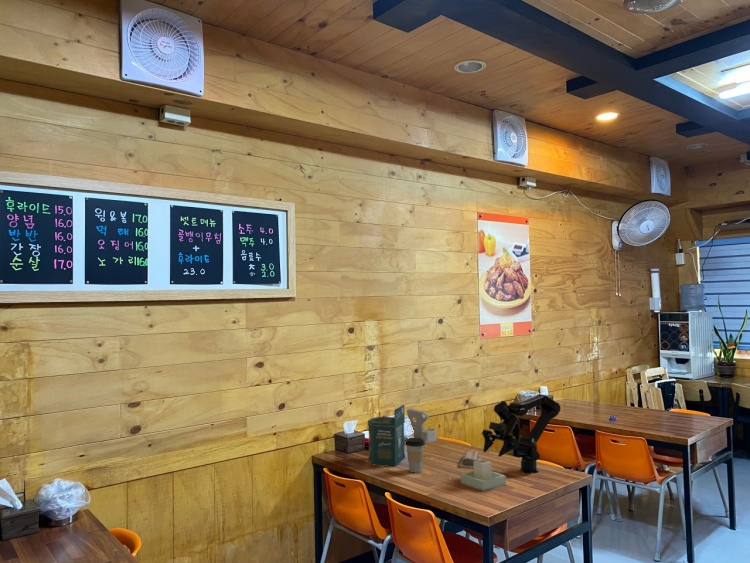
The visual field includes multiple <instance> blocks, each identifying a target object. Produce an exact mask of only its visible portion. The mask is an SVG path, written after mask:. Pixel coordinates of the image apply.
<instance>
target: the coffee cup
mask: <svg viewBox="0 0 750 563" xmlns="http://www.w3.org/2000/svg"><path fill="white" fill-rule="evenodd" d="M404 445H406V454H407V456H406V457H407V462H408V467H409V468H408V469H409V470H408V471H409V472H410V473H412V472H415V473H414V474H419V473H421V472H422V471H423V465H424V464H423V462H424V453H425V449H424V448H425V445H426V443H425V442H424V441H423V439H421V438H409V439H407V438H406V441H405V442H404ZM418 472H419V473H418Z"/></svg>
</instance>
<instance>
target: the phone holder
mask: <svg viewBox="0 0 750 563" xmlns="http://www.w3.org/2000/svg"><path fill="white" fill-rule="evenodd" d="M406 414H407V417H408V420H409V419H410V421H411V424H410V426H411V425H412V427H413V430H414V438H421V439H423V441H424V442H425V444H428V442H429V443H433V442H437V438H436V437H437V436H436V435H437V432H436V431H437V430H436V428H435V429H434V428H430V429H429V428H428V429H425V427H424V423H425V422H426V421H428V420H429V418H430V416H429V414H428V413H427V411H424V410H419V409H416V408H415V409H414V408H408V409H407V410H406ZM414 419H415V420H414ZM410 421H409V422H410Z"/></svg>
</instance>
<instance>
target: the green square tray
mask: <svg viewBox="0 0 750 563" xmlns="http://www.w3.org/2000/svg"><path fill="white" fill-rule="evenodd" d="M459 475H460V484H462V485H466V486H468V487H471V488H474V489H476V490H479V491H481V492H485V491H489V490H492V489H493V490H494V489H496V488H500V487H503V486H506V485H507V480H506V479H507V478H506V475H504V474H502V473H499V472H495V471H492V478H491V479H487V480H480V479H477V478H474V470H471V471H466V472H463V473H460V474H459Z"/></svg>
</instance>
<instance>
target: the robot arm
mask: <svg viewBox="0 0 750 563" xmlns="http://www.w3.org/2000/svg"><path fill="white" fill-rule="evenodd" d="M538 406H539V407H540V416H539V417H538V418H537V420H536V422H535V423H534V425H533V426H532V428H531V430H530V432H528V433H529V434H528V435H527V436H525V437H524V436H521V437H520V439H519V440H518V439H517V438H516V436H513V434H514V429H515V426H516V425H520V424H521V421H520V418H519V417H523V416H525V415H526V414H528V412H529V411H530V410H532V409H534V408H537V407H538ZM561 408H562V407H561V405H560V403H559V402H556V401H555V400H553V399H552V398H550V397H549V396H548V395H546V394H541V393H540V394H537V395H535V396H533V397H530V398H528V399H526V400H522V401H513V402H510V403H509V404H508V403H507V402H506V401H504V400H501V401H500V402H499V403H496V405H494V407H493V412H495V414H496V415H497V416H498V417H499V419H500V420H502V422H499V423H498V422H494V421H490V423H489V426H488V429H486V428H485V429H483V430H482V432H481V435H482V436H483V438H484V445H483V452H484V453H486V452H487V451H489V449H490V448H491V447H492V446H493V445H494V442H495V441H496V440H498V441H502V442H503V444H502V447H501V449H500V450H499V451H498V455H497V456H498V457H502V456H504V455H506V454H507V453H509V452H510V451H512V450H515V449H516V452H517V455H518V457H519V458H521V461H520V468H519V471H521V472H524V473H526V474H533V473H534V474H535V473H539V470H538V469H537V468H538V467H537V461H539V459H540V456H541V455H540V453H539V452H538V451H537V450H538V445H537V443H538V441H539V440H540V439H541V436H542V434H543V432H544V431H545V429H546V427H547V426H548V424H549V423H550V421H551V420H553V419H554V418H556V417H557V416H558V415H559V413H560V412H561Z"/></svg>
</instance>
